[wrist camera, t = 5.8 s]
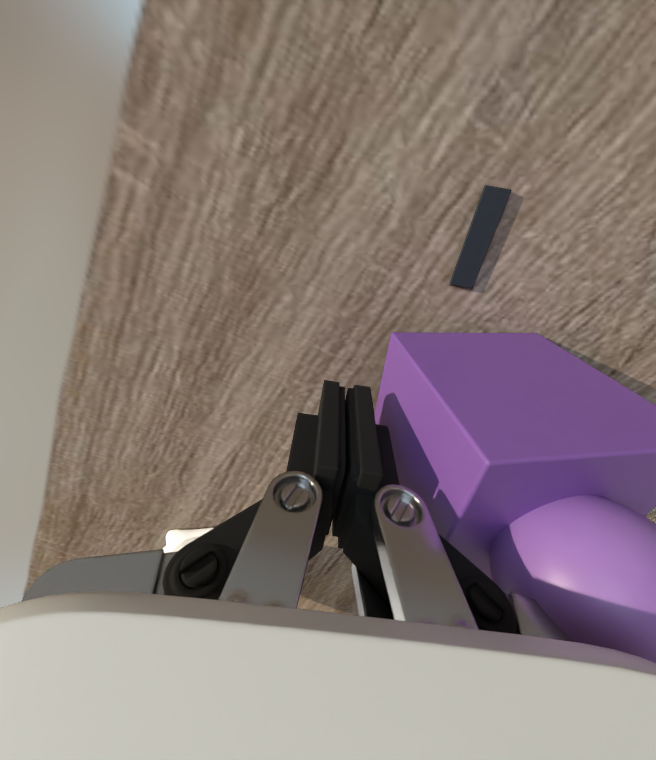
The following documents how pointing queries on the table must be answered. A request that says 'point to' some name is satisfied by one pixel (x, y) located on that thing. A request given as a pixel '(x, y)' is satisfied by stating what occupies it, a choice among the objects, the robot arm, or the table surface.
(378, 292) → the table surface
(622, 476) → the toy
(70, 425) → the table surface
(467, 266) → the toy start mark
